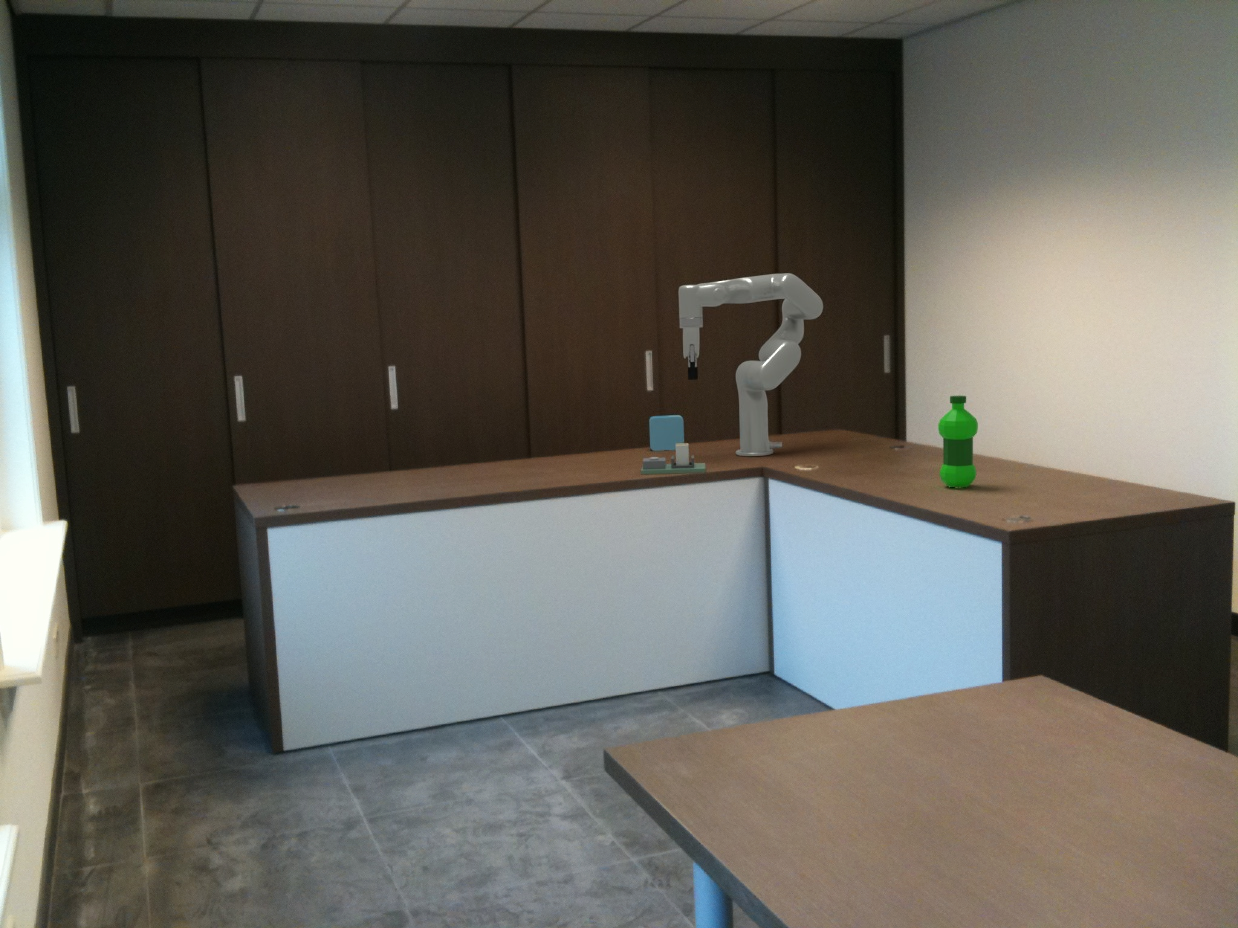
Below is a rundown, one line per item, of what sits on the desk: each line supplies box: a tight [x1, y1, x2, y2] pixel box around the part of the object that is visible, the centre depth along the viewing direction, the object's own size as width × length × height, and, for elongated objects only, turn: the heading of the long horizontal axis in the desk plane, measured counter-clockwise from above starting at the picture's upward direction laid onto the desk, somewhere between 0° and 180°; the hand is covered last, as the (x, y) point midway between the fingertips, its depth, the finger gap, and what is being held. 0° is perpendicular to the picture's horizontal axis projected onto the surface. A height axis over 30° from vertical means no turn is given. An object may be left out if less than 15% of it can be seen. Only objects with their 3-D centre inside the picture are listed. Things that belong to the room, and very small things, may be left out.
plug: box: [675, 442, 690, 465], centre depth 384 cm, size 4×4×7 cm
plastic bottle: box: [937, 395, 979, 488], centre depth 333 cm, size 10×10×25 cm
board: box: [640, 454, 706, 475], centre depth 384 cm, size 20×12×4 cm, turn 87°
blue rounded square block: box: [648, 414, 685, 452], centre depth 432 cm, size 12×4×12 cm, turn 90°
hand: (693, 379), depth 399 cm, fingers closed
